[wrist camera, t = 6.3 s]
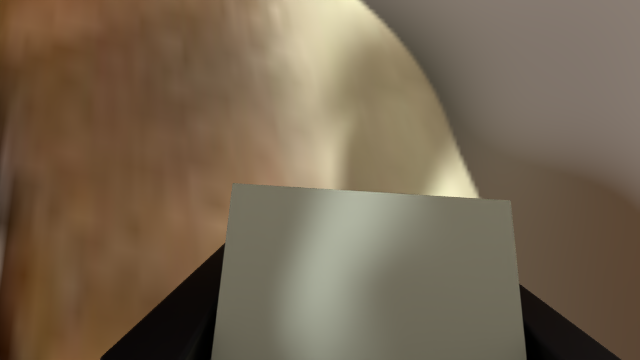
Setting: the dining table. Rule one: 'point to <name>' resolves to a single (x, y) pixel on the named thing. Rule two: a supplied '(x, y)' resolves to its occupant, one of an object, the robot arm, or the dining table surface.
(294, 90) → the dining table surface
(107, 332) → the dining table surface
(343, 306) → the sage block
